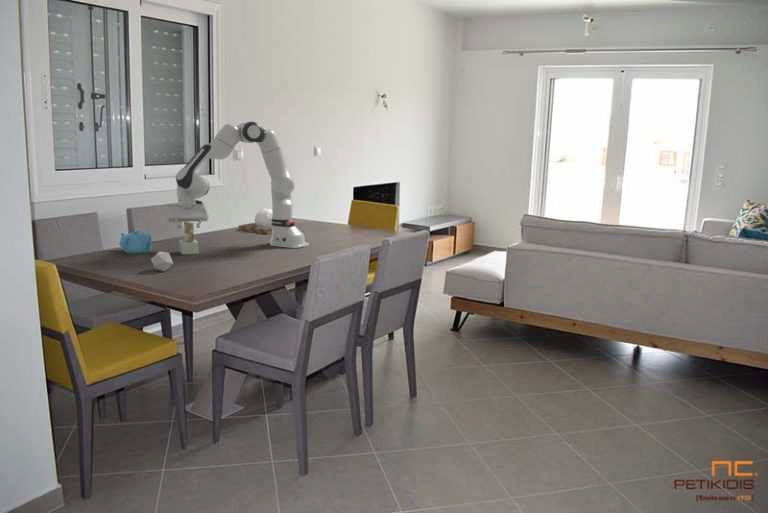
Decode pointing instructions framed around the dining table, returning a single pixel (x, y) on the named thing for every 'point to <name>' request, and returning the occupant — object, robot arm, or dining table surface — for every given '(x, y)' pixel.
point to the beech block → (188, 231)
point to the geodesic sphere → (264, 218)
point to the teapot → (135, 242)
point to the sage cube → (189, 247)
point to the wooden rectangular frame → (254, 228)
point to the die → (162, 261)
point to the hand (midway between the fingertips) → (188, 227)
